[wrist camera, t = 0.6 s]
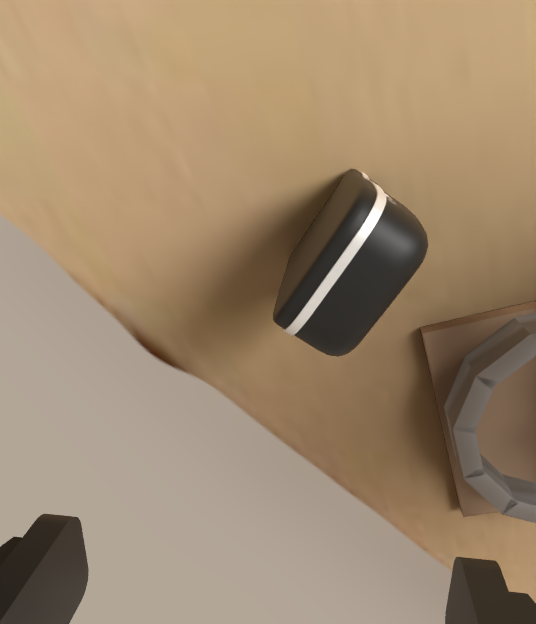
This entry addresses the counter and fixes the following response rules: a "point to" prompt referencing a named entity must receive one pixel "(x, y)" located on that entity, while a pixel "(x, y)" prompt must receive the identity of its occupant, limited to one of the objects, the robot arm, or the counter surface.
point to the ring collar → (488, 407)
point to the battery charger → (349, 266)
